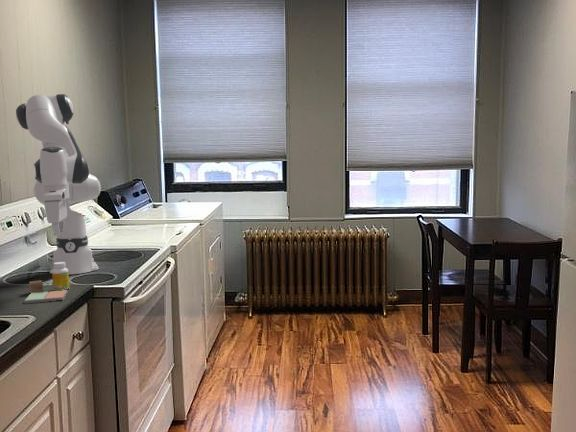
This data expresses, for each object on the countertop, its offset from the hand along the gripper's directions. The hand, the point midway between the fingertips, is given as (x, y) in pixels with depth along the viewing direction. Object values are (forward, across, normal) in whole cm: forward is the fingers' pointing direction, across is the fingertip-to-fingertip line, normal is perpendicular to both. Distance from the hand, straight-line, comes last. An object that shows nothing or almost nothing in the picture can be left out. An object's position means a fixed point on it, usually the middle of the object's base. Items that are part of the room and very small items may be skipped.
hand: (59, 233), depth 218 cm
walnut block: (+20, +1, -9) cm, 22 cm away
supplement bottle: (+20, -1, -1) cm, 20 cm away
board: (+20, +11, -4) cm, 23 cm away
